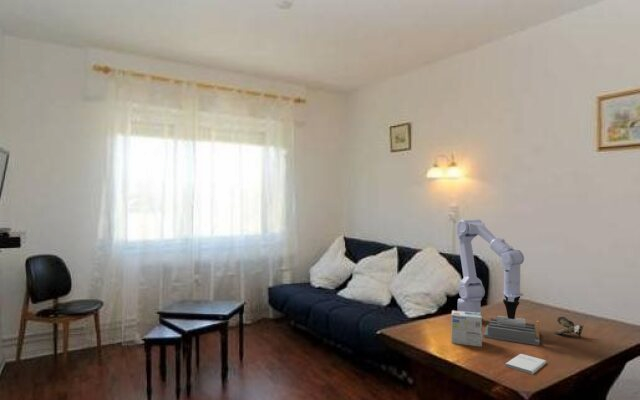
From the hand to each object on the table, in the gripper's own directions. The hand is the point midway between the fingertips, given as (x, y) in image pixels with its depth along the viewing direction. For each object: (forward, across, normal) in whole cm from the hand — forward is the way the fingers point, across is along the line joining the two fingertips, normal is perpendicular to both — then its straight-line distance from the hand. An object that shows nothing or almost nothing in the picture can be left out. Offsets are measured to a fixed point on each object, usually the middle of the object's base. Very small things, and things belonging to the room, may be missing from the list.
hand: (511, 316), depth 158 cm
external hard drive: (+8, -28, -5) cm, 30 cm away
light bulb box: (+8, -16, +14) cm, 23 cm away
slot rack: (+8, 0, 0) cm, 8 cm away
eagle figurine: (+8, +12, -20) cm, 24 cm away
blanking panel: (+7, 0, 0) cm, 7 cm away
